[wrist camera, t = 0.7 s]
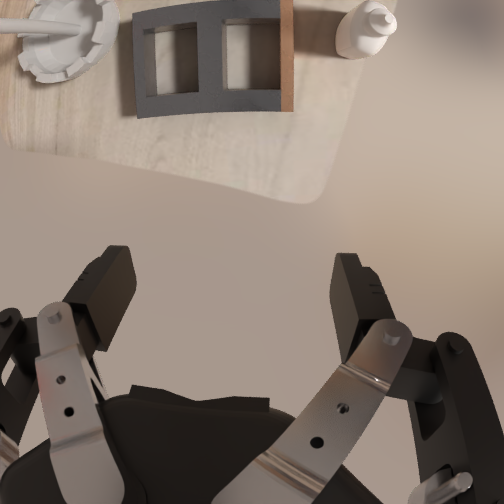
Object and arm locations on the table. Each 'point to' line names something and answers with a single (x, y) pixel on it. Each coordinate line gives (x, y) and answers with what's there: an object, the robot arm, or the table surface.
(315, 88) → the table surface
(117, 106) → the table surface
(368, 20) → the eye dropper bottle
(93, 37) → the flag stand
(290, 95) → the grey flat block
